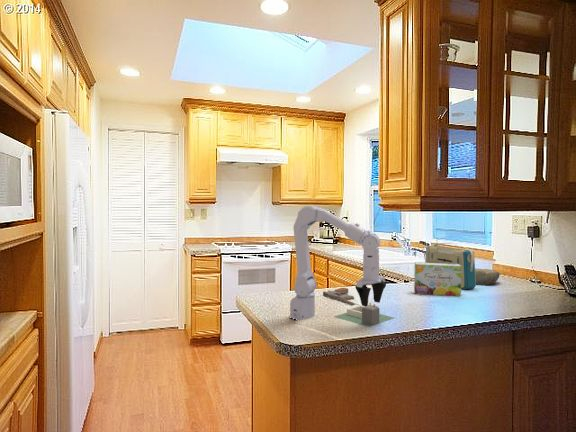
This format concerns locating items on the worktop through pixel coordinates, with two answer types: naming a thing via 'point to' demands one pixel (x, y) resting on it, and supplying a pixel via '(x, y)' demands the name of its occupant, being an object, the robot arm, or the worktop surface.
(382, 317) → the board
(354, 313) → the socket
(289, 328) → the worktop surface
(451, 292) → the snack box
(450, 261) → the radio
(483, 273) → the stone
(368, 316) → the plug
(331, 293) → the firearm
